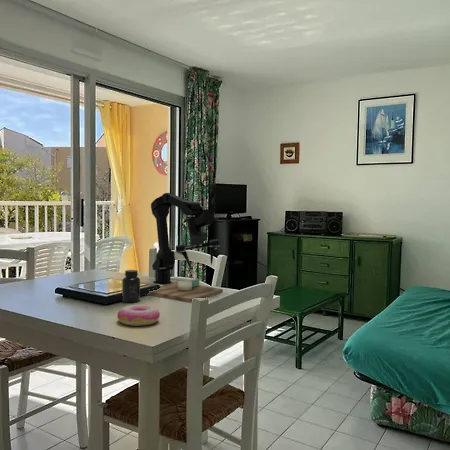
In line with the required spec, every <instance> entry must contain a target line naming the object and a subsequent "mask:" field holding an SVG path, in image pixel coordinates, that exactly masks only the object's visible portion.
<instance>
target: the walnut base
mask: <svg viewBox="0 0 450 450" xmlns="http://www.w3.org/2000/svg"><path fill="white" fill-rule="evenodd" d="M159 287H160V288H159V289H157V290H153V291H149V293H148V294H147V295H148V296H151V297H152V296H153V297H157V298H163V299H168V300H174V301H179V302H183V303H184V302H185V303H189V304H192V303H191V302H192V299H193V298H205V299H207V298H206V297H208V298H211V297H214V296H217V295H219V294H223V293H222V292H224V291H223V290H224V289H223V288H218V287H214V286H213V287H211V286H206V285H201V284H199V285H198V286H195V287H192V290H189V291H181V290H178V281H176V282H171V283H168V284H164V285H161V286H159Z"/></svg>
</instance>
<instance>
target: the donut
mask: <svg viewBox="0 0 450 450" xmlns="http://www.w3.org/2000/svg"><path fill="white" fill-rule="evenodd" d="M159 318H160V311H159V309H157V308H156V307H155V306H152V305H147V304H132V305H127V306H123V307H122V308H120V309H119V310H118V312H117V319H118V321H119V322H120V323H122V324H123V325H126V326H131V327H132V326H133V327H138V326H139V327H141V326H149V325H152V324H155V323H156V322H158V321H159Z"/></svg>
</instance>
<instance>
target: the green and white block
mask: <svg viewBox="0 0 450 450" xmlns="http://www.w3.org/2000/svg"><path fill="white" fill-rule="evenodd" d="M177 282H178V290H181V291H189V290H192V287H195V286H198V285H200V279H199V278H194V279H189V280H178V281H177Z"/></svg>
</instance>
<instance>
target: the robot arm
mask: <svg viewBox="0 0 450 450" xmlns="http://www.w3.org/2000/svg"><path fill="white" fill-rule="evenodd" d="M173 206H174V207H176V208H178V209H179V210H180V212H181V213H182V214H184V215H185V216H186V218H185V219H184V221H183V222H184V223H186V224H187V228H188V233H189V234H188V235H189V243H190V244H189V245H185V243H184V244H178V245H176V246H175V251H173V250H172V249H171V248H170V240H169V230H168V229H169V228H168V220H167V217H168V215H169V213H170V208H171V207H173ZM150 209H151V214H152V216H153V217H154V218H155V221H156V231H157V241H158V250H157V253H156V254H155V255H156V256H155V260H154V262H153V264H152V266H151V267H152V270H153V271H155V279H154V280H153V282H152V283H153V284H160V285H168V284H172V283H173V281H172V280H171V271H173V270H174V267H175V263H176V261H175V260H176V258H175V252H176V254H179V255H181V256H183V258H184V259H185V261H186V263H187V265H188V267H189V268H190V269H191V268H192V267H191V261H190V259H189V256H188V252H187V251H189V250H196V249H201V248H208V247H209V248H210V253H209V254H210V265H213V261H214V259H213V258H214V254H215V250H218V248H219V247H220V246H221V243H220V240H219V239H218V238H216V239H210V240H209V242H205V241H208V236H207V232H203V228H206V227H208V226H211V225H213V223H214V222H215V217H214V215H213V214H212V213H211V212H210V211H209V209H208V208H207V209H204V208H203V207H202V206H201V203H200V202H197V201H194V200H193V201H191V200H187V199H184V198H182V197H180V196H178V195H176V194H175V193H173V192H165V193H163V194H162V195H161V196H159V197H156V198H155V199H154V200H153V201H152V202H151V204H150Z"/></svg>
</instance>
